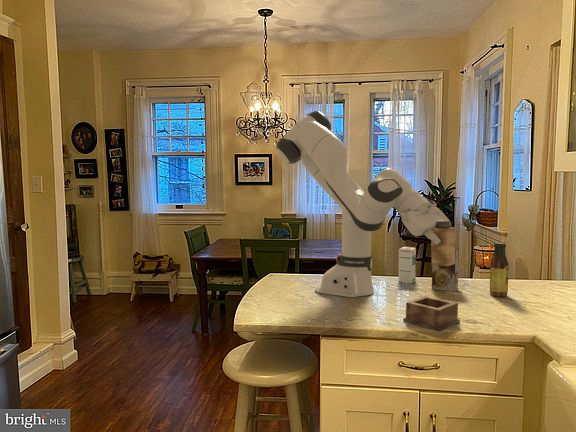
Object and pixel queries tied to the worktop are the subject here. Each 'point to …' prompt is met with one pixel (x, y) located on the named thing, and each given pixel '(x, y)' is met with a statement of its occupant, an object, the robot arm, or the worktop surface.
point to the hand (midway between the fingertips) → (444, 241)
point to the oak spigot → (443, 244)
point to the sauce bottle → (499, 271)
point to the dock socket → (432, 313)
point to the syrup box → (407, 264)
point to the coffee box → (446, 275)
